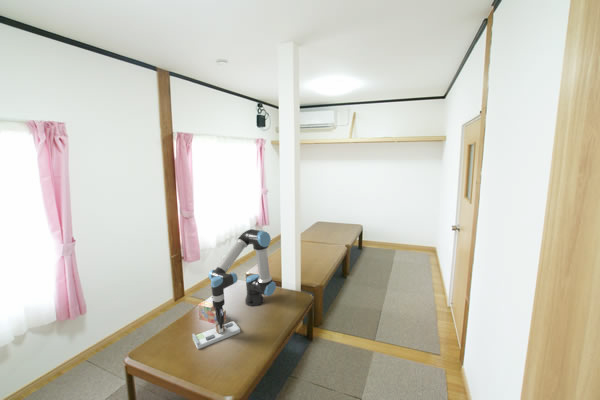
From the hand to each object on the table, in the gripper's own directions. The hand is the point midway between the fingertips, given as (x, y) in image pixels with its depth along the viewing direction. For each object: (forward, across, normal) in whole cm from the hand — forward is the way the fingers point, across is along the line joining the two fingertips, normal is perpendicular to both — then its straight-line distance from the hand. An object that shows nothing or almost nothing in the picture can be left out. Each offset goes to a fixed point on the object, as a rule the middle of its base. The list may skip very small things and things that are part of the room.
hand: (221, 331), depth 189 cm
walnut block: (+1, -3, +1) cm, 3 cm away
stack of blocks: (+4, -24, +2) cm, 24 cm away
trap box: (+4, -3, -2) cm, 5 cm away
